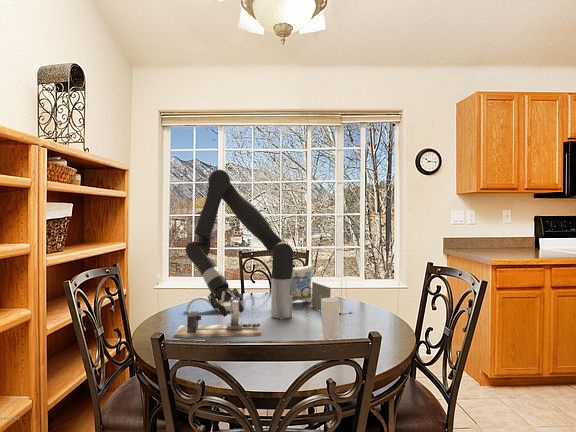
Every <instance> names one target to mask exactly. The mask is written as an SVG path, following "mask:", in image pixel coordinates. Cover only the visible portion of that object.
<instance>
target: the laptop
mask: <svg viewBox="0 0 576 432" xmlns="http://www.w3.org/2000/svg"><path fill="white" fill-rule="evenodd" d="M331 290H332V288H331V287H329V286H327V285H323V284H320V283H317V282H314V281H311V295H312V301H311V307H312V309H315V310H317V311H319V310H320V311H319V312H321V299H322V298H331ZM339 313H340V312H339Z"/></svg>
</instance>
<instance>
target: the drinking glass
mask: <svg viewBox="0 0 576 432" xmlns="http://www.w3.org/2000/svg"><path fill="white" fill-rule="evenodd" d="M340 302H341V301H340V299H339V298H337V297H330V298H322V299H321V311H320V315H321V330H322V340H323V341H324V340H329V339H337V340H338V332H339V322H340V321H339V320H340V315H339V312H340V307H341V303H340Z"/></svg>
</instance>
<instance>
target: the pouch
mask: <svg viewBox="0 0 576 432" xmlns="http://www.w3.org/2000/svg"><path fill="white" fill-rule="evenodd" d="M313 267H314V263H312V264H309V265H306V266H300V267H293V273H292V302H295V301H309V302H312V278H313V277H312V276H313V275H312V274H313V269H314V268H313Z"/></svg>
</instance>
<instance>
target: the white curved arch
mask: <svg viewBox="0 0 576 432" xmlns="http://www.w3.org/2000/svg"><path fill="white" fill-rule="evenodd" d="M199 300H202V301H204V302H207V303H208V304H209V305H210V306H211V307H212V305H211V303H210V301H209V299H208V296H204V295H203V296H200V295H199V296H195V297H193V298H191V299H190V300H189V301H188V302H187V305H186V309H185V313H186V314H188V313H190V307H191V305H192V304H193V303H194V302H196V301H199ZM216 300H217V299H216ZM217 301H218V300H217ZM214 304H215V303H214ZM223 306H224V307H225V309H226V310H227V312H231V303H230V302H225V303H223ZM214 310H215V311H217V312H218V311H219V313H221V312H220V310H219V309H217V308H215V309H214Z"/></svg>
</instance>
